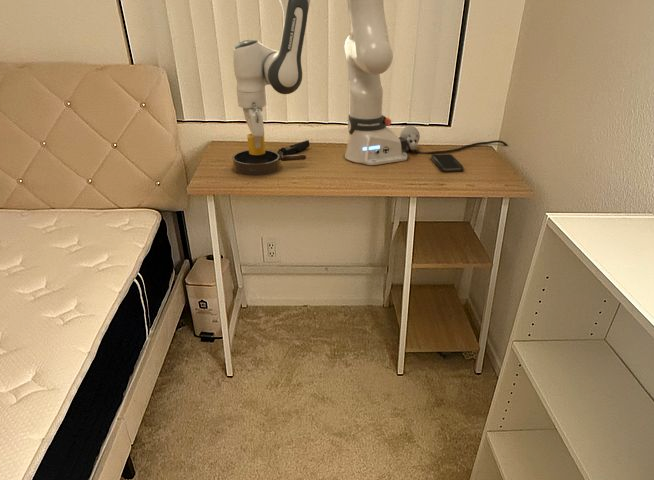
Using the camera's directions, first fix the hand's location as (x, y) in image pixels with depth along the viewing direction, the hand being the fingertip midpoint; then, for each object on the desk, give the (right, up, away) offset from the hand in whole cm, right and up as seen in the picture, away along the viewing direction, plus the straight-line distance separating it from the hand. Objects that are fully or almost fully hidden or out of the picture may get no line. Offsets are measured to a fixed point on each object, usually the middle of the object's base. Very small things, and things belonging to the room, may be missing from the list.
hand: (256, 144), depth 184 cm
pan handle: (+12, -3, +6) cm, 13 cm away
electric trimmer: (+10, +4, +19) cm, 22 cm away
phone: (+65, -3, +11) cm, 66 cm away
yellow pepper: (0, -2, +2) cm, 3 cm away
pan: (-1, -6, +5) cm, 8 cm away
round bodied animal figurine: (+53, +5, +22) cm, 57 cm away
